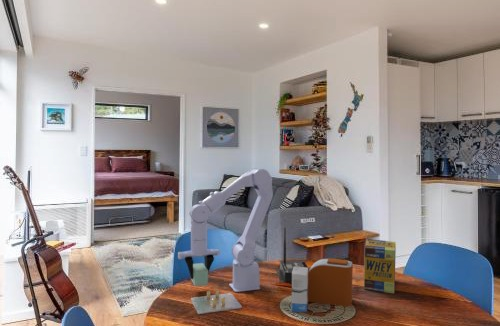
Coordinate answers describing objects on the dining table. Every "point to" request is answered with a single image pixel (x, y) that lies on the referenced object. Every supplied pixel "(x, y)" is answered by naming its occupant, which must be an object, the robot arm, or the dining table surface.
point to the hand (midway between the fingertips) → (198, 277)
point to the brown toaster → (330, 282)
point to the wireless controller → (288, 265)
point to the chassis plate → (205, 304)
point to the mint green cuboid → (200, 274)
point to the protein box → (379, 266)
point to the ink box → (299, 289)
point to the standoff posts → (215, 299)
